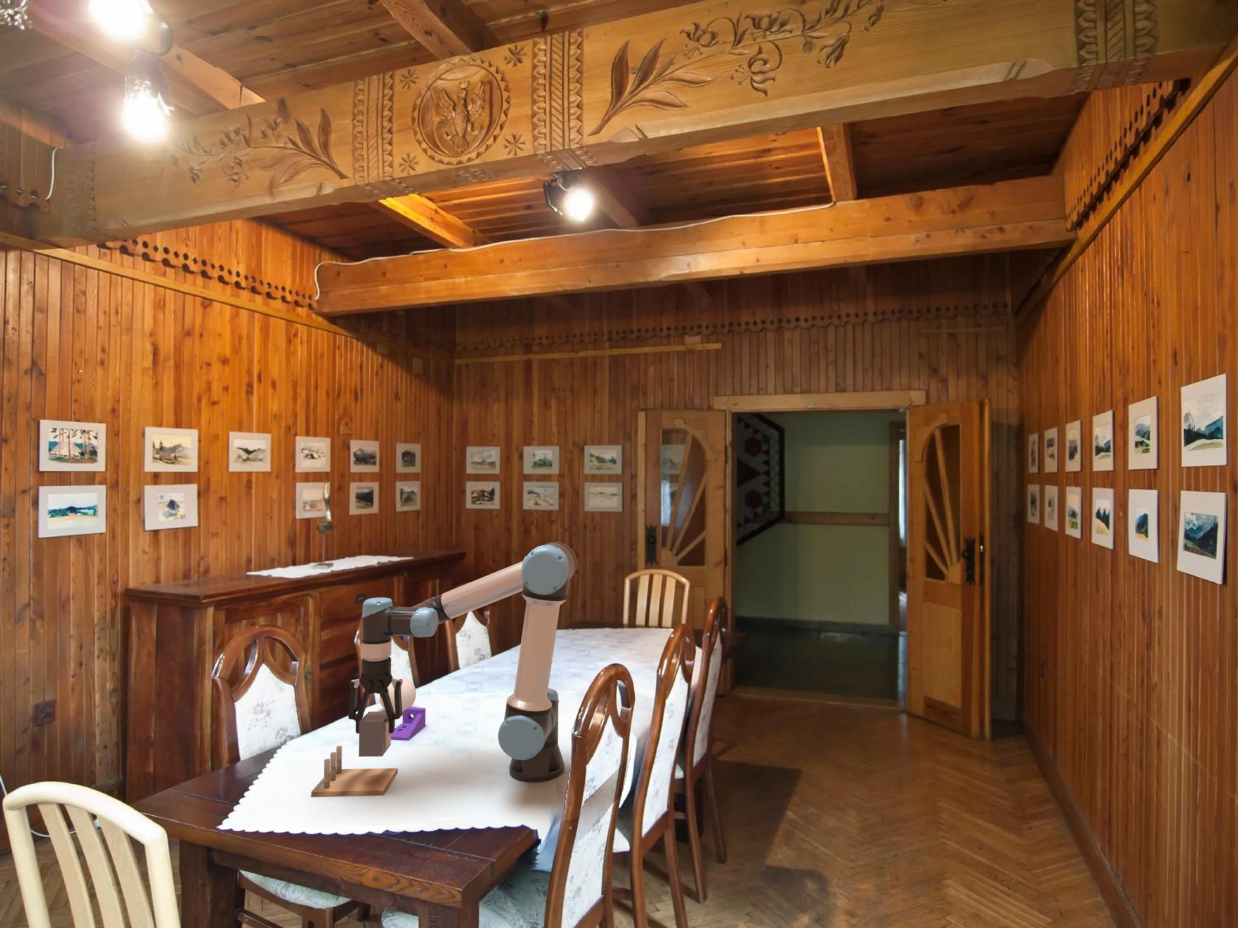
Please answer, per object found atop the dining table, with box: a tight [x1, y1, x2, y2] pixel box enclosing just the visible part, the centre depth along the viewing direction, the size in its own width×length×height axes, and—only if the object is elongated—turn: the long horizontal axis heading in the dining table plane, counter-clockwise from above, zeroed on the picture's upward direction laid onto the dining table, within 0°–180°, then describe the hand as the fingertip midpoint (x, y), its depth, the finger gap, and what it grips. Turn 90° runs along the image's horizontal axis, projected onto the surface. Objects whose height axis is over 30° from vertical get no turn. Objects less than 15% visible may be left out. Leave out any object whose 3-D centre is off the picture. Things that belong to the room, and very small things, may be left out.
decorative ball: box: [379, 677, 417, 714], centre depth 246 cm, size 12×12×12 cm
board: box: [310, 745, 399, 798], centre depth 189 cm, size 18×14×8 cm
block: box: [358, 710, 392, 758], centre depth 190 cm, size 6×8×9 cm
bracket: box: [391, 706, 427, 742], centre depth 226 cm, size 12×7×7 cm, turn 171°
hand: (375, 745), depth 190 cm, fingers closed on block, 6 cm apart
